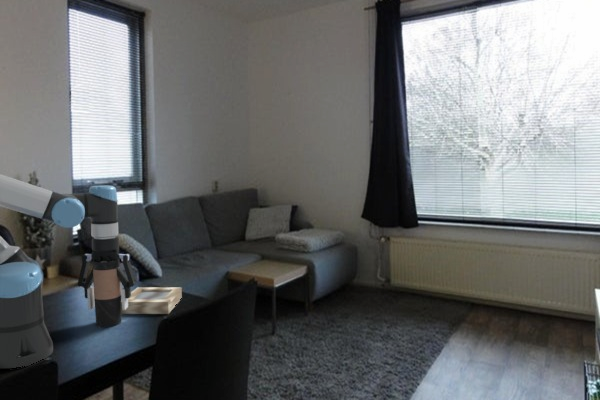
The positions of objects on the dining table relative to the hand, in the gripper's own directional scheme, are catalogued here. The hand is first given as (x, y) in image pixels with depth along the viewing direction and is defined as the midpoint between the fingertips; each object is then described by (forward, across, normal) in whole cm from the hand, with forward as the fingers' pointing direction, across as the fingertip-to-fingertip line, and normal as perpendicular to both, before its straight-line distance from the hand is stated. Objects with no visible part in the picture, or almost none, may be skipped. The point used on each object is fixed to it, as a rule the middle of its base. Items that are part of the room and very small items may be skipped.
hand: (108, 308), depth 136 cm
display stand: (+5, -8, -16) cm, 18 cm away
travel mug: (+5, 0, 0) cm, 5 cm away
